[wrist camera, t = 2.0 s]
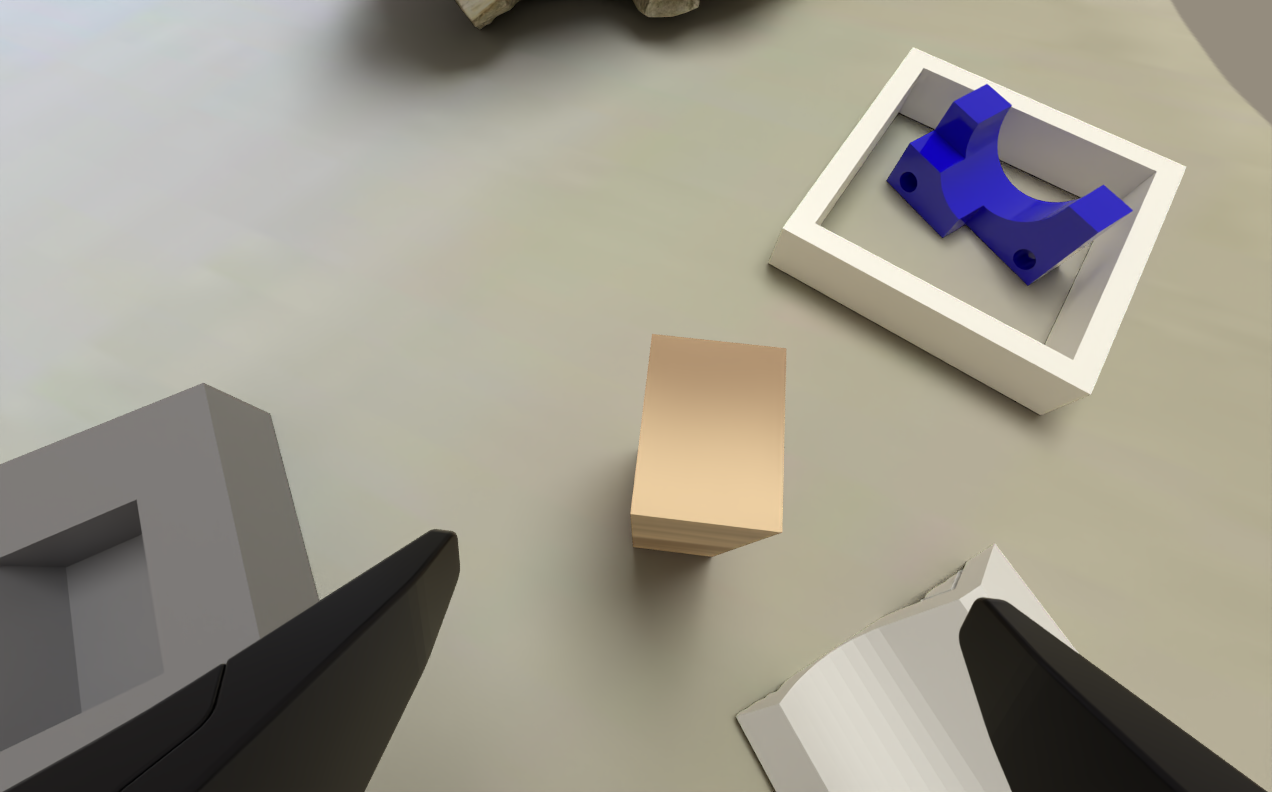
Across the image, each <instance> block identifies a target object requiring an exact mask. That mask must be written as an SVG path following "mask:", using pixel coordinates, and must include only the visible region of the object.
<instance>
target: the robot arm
mask: <svg viewBox="0 0 1272 792" xmlns="http://www.w3.org/2000/svg"><path fill="white" fill-rule="evenodd" d="M459 573H460V560H459V548H458V538H457V535H456V533H455V532H453V531H448V530H439V529H433V530H430V531H428V532H427V533H425V534H424V535H422V536H420V537H419V538H417V539H416V540H414V541H413V542H411V543H409V544H408V545H406V546H405V547H403V548H402V549H400V550H398V551H397V552H395V553H394V554H392V555H391V556H389V557H387V558H386V559H384V560H383V561H381V562H380V563H378V564H377V565H375V566H373V567H372V568H370V569H369V570H367V571H366V572H364V573H362V574H361V575H359V576H358V577H356V578H355V579H353V580H351V581H350V582H348V583H347V584H345V585H344V586H342V587H341V588H339V589H337V590H336V591H334V592H333V593H331V594H330V595H328V596H326V597H325V598H323V599H322V600H320V601H319V602H317V603H315V604H314V605H312V606H311V607H309V608H308V609H306V610H304V611H303V612H301V613H300V614H298V615H297V616H295V617H294V618H292V619H290V620H289V621H287V622H286V623H284V624H283V625H281V626H279V627H278V628H276V629H275V630H273V631H272V632H270V633H268V634H267V635H265V636H264V637H262V638H261V639H259V640H258V641H256V642H254V643H253V644H251V645H250V646H248V647H247V648H245V649H243V650H242V651H240V652H239V653H237V654H236V655H234V656H232V657H231V658H229V659H228V660H227V662H226V664H224V663H222V664H220V665H218V666H216V667H215V668H213V669H212V670H210V671H209V672H207V673H206V674H204V675H202V676H201V677H199V678H198V679H196V680H195V681H193V682H191V683H190V684H188V685H186V686H185V687H183V688H182V689H180V690H178V691H177V692H175V693H174V694H172V695H170V696H169V697H167V698H165V699H164V700H162V701H161V702H159V703H157V704H156V705H154V706H152V707H151V708H149V709H148V710H146V711H144V712H142V713H141V714H139V715H137V716H135V717H134V718H132V719H130V720H129V721H127V722H125V723H123V724H122V725H120V726H118V727H116V728H115V729H113V730H111V731H110V732H108V733H106V734H104V735H103V736H101V737H99V738H97V739H96V740H94V741H92V742H90V743H89V744H87V745H85V746H83V747H81V748H80V749H78V750H76V751H74V752H73V753H71V754H69V755H67V756H65V757H64V758H62V759H60V760H58V761H56V762H55V763H53V764H51V765H49V766H48V767H46V768H44V769H42V770H40V771H39V772H37V773H35V774H33V775H31V776H30V777H28V778H26V779H24V780H23V781H21V782H19V783H17V784H15V785H14V786H12V787H10V788H8V789H7V790H5V791H3V792H364V791H365V789H366V787H367V785H368V783H369V781H370V779H371V777H372V775H373V773H374V771H375V769H376V767H377V765H378V763H379V761H380V759H381V757H382V755H383V753H384V751H385V749H386V747H387V745H388V743H389V741H390V739H391V736H392V734H393V732H394V730H395V728H396V726H397V724H398V722H399V720H400V718H401V716H402V714H403V712H404V710H405V708H406V706H407V704H408V702H409V700H410V698H411V696H412V694H413V692H414V690H415V688H416V686H417V683H418V681H419V679H420V677H421V675H422V673H423V671H424V669H425V666H426V664H427V662H428V659H429V657H430V654H431V652H432V649H433V646H434V644H435V641H436V638H437V636H438V633H439V630H440V627H441V625H442V622H443V619H444V616H445V614H446V611H447V608H448V606H449V603H450V600H451V597H452V595H453V592H454V589H455V586H456V584H457V581H458V577H459ZM959 644H960V648H961V651H962V654H963V658H964V661H965V664H966V667H967V670H968V673H969V676H970V680H971V683H972V686H973V689H974V692H975V695H976V699H977V702H978V705H979V708H980V711H981V714H982V718H983V721H984V724H985V727H986V729H987V732H988V735H989V738H990V741H991V743H992V746H993V748H994V751H995V753H996V756H997V758H998V761H999V763H1000V765H1001V768H1002V770H1003V773H1004V775H1005V777H1006V780H1007V782H1008V784H1009V787H1010V789H1011V791H1012V792H1267V791H1266V790H1264V789H1263V788H1262V787H1260V786H1259V785H1258V784H1256V783H1255V782H1253V781H1252V780H1251V779H1249V778H1248V777H1247V776H1245V775H1244V774H1242V773H1241V772H1240V771H1238V770H1237V769H1236V768H1234V767H1233V766H1232V765H1230V764H1229V763H1227V762H1226V761H1225V760H1223V759H1222V758H1221V757H1219V756H1218V755H1216V754H1215V753H1214V752H1212V751H1211V750H1210V749H1208V748H1207V747H1206V746H1204V745H1203V744H1201V743H1200V742H1199V741H1197V740H1196V739H1195V738H1193V737H1192V736H1191V735H1189V734H1188V733H1186V732H1185V731H1184V730H1182V729H1181V728H1180V727H1178V726H1177V725H1175V724H1174V723H1173V722H1171V721H1170V720H1169V719H1167V718H1166V717H1165V716H1163V715H1162V714H1160V713H1159V712H1158V711H1156V710H1155V709H1154V708H1152V707H1151V706H1150V705H1148V704H1147V703H1145V702H1144V701H1143V700H1141V699H1140V698H1139V697H1137V696H1136V695H1134V694H1133V693H1132V692H1130V691H1129V690H1128V689H1126V688H1125V687H1124V686H1122V685H1121V684H1119V683H1118V682H1117V681H1115V680H1114V679H1113V678H1111V677H1110V676H1109V675H1107V674H1106V673H1104V672H1103V671H1102V670H1100V669H1099V668H1098V667H1096V666H1095V665H1093V664H1092V663H1091V662H1089V661H1088V660H1087V659H1085V658H1084V657H1083V656H1081V655H1080V654H1078V653H1077V652H1076V651H1074V650H1073V649H1072V648H1070V647H1069V646H1068V645H1066V644H1065V643H1063V642H1062V641H1061V640H1059V639H1058V638H1057V637H1055V636H1054V635H1052V634H1051V633H1050V632H1048V631H1047V630H1046V629H1044V628H1043V627H1042V626H1040V625H1039V624H1037V623H1036V622H1035V621H1033V620H1032V619H1031V618H1029V617H1028V616H1027V615H1025V614H1024V613H1022V612H1021V611H1020V610H1018V609H1017V608H1016V607H1014V606H1013V605H1012V604H1010V603H1009V602H1007V601H1005V600H1001V599H994V598H986V597H980V598H977V599H976V600H975V601H974V602H973V604H972V606H971V608H970V610H969V612H968V614H967V616H966V618H965V620H964V622H963V624H962V626H961V628H960V631H959Z"/></svg>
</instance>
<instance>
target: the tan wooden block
mask: <svg viewBox="0 0 1272 792" xmlns="http://www.w3.org/2000/svg"><path fill="white" fill-rule="evenodd" d="M785 382H786V348H777V347H768V346H758V345H749V344H740V343H730V342H721V341H712V340H702V339H693V338H684V337H675V336H665V335H656V334H652V340H651V348H650V356H649V364H648V373H647V381H646V389H645V397H644V406H643V414H642V422H641V430H640V439H639V447H638V455H637V463H636V472H635V480H634V488H633V497H632V505H631V513H630V515H631V528H632V540H633V547H637V548H645V549H653V550H661V551H669V552H677V553H685V554H693V555H701V556H709V557H713V556H716V555H719V554H721V553H724V552H727V551H730V550H733V549H736V548H739V547H742V546H745V545H747V544H750V543H753V542H756V541H759V540H762V539H765V538H768V537H770V536H773V535H776V534H779V533H782V517H783V472H784V427H785Z"/></svg>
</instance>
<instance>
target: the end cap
mask: <svg viewBox="0 0 1272 792" xmlns="http://www.w3.org/2000/svg"><path fill="white" fill-rule="evenodd" d="M317 602H319V599H318V595H317V591H316V588H315V584H314V580H313V576H312V572H311V569H310V565H309V561H308V557H307V553H306V549H305V546H304V542H303V538H302V534H301V530H300V527H299V523H298V519H297V515H296V511H295V508H294V504H293V500H292V496H291V492H290V488H289V485H288V481H287V477H286V473H285V469H284V466H283V462H282V458H281V454H280V450H279V447H278V443H277V439H276V435H275V431H274V427H273V424H272V420H271V416H270V413H267V412H265V411H263V410H261V409H259V408H257V407H254V406H252V405H250V404H248V403H246V402H244V401H241V400H239V399H237V398H235V397H233V396H231V395H229V394H226V393H224V392H222V391H220V390H218V389H216V388H213V387H211V386H209V385H207V384H205V383H202V384H200V385H197V386H195V387H192V388H190V389H187V390H185V391H182V392H180V393H177V394H175V395H172V396H170V397H167V398H165V399H162V400H160V401H157V402H155V403H152V404H150V405H147V406H145V407H142V408H140V409H137V410H135V411H132V412H130V413H127V414H125V415H122V416H120V417H117V418H115V419H112V420H110V421H107V422H105V423H102V424H100V425H97V426H95V427H92V428H90V429H87V430H85V431H82V432H80V433H77V434H75V435H72V436H70V437H68V438H65V439H63V440H60V441H58V442H55V443H53V444H50V445H48V446H45V447H43V448H40V449H38V450H35V451H33V452H30V453H28V454H25V455H23V456H20V457H18V458H15V459H13V460H10V461H8V462H5V463H3V464H0V792H3V791H5V790H7V789H8V788H10V787H12V786H14V785H15V784H17V783H19V782H21V781H23V780H24V779H26V778H28V777H30V776H31V775H33V774H35V773H37V772H39V771H40V770H42V769H44V768H46V767H48V766H49V765H51V764H53V763H55V762H56V761H58V760H60V759H62V758H64V757H65V756H67V755H69V754H71V753H73V752H74V751H76V750H78V749H80V748H81V747H83V746H85V745H87V744H89V743H90V742H92V741H94V740H96V739H97V738H99V737H101V736H103V735H104V734H106V733H108V732H110V731H111V730H113V729H115V728H116V727H118V726H120V725H122V724H123V723H125V722H127V721H129V720H130V719H132V718H134V717H135V716H137V715H139V714H141V713H142V712H144V711H146V710H148V709H149V708H151V707H152V706H154V705H156V704H157V703H159V702H161V701H162V700H164V699H165V698H167V697H169V696H170V695H172V694H174V693H175V692H177V691H178V690H180V689H182V688H183V687H185V686H186V685H188V684H190V683H191V682H193V681H195V680H196V679H198V678H199V677H201V676H202V675H204V674H206V673H207V672H209V671H210V670H212V669H213V668H215V667H216V666H218V665H220V664H222V663H224V664H226V662H227V660H228V659H229V658H231V657H232V656H234V655H236V654H237V653H239V652H240V651H242V650H243V649H245V648H247V647H248V646H250V645H251V644H253V643H254V642H256V641H258V640H259V639H261V638H262V637H264V636H265V635H267V634H268V633H270V632H272V631H273V630H275V629H276V628H278V627H279V626H281V625H283V624H284V623H286V622H287V621H289V620H290V619H292V618H294V617H295V616H297V615H298V614H300V613H301V612H303V611H304V610H306V609H308V608H309V607H311V606H312V605H314V604H315V603H317Z"/></svg>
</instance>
